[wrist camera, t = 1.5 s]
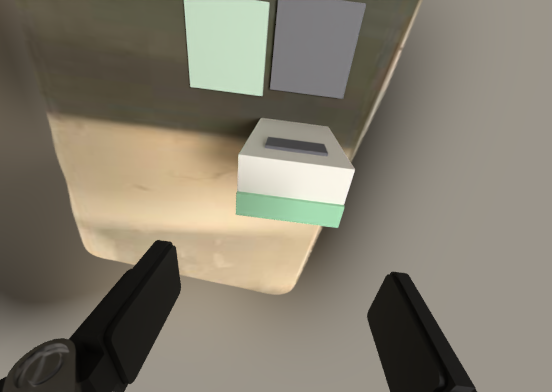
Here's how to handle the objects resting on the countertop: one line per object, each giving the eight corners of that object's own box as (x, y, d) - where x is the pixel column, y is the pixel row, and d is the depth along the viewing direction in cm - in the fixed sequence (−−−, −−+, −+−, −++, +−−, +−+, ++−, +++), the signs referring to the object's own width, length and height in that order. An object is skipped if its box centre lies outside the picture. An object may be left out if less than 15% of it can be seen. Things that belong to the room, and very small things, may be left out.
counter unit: (261, 115, 32) (237, 152, 18) (328, 124, 32) (357, 168, 18) (257, 158, 36) (235, 217, 22) (319, 166, 36) (337, 230, 22)
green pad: (185, -8, 26) (183, -10, 25) (269, 3, 26) (269, 2, 26) (192, 86, 31) (190, 86, 31) (262, 95, 31) (262, 96, 31)
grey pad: (279, -7, 26) (278, -8, 25) (364, 5, 26) (366, 3, 25) (270, 88, 31) (270, 89, 30) (342, 98, 31) (342, 98, 30)
